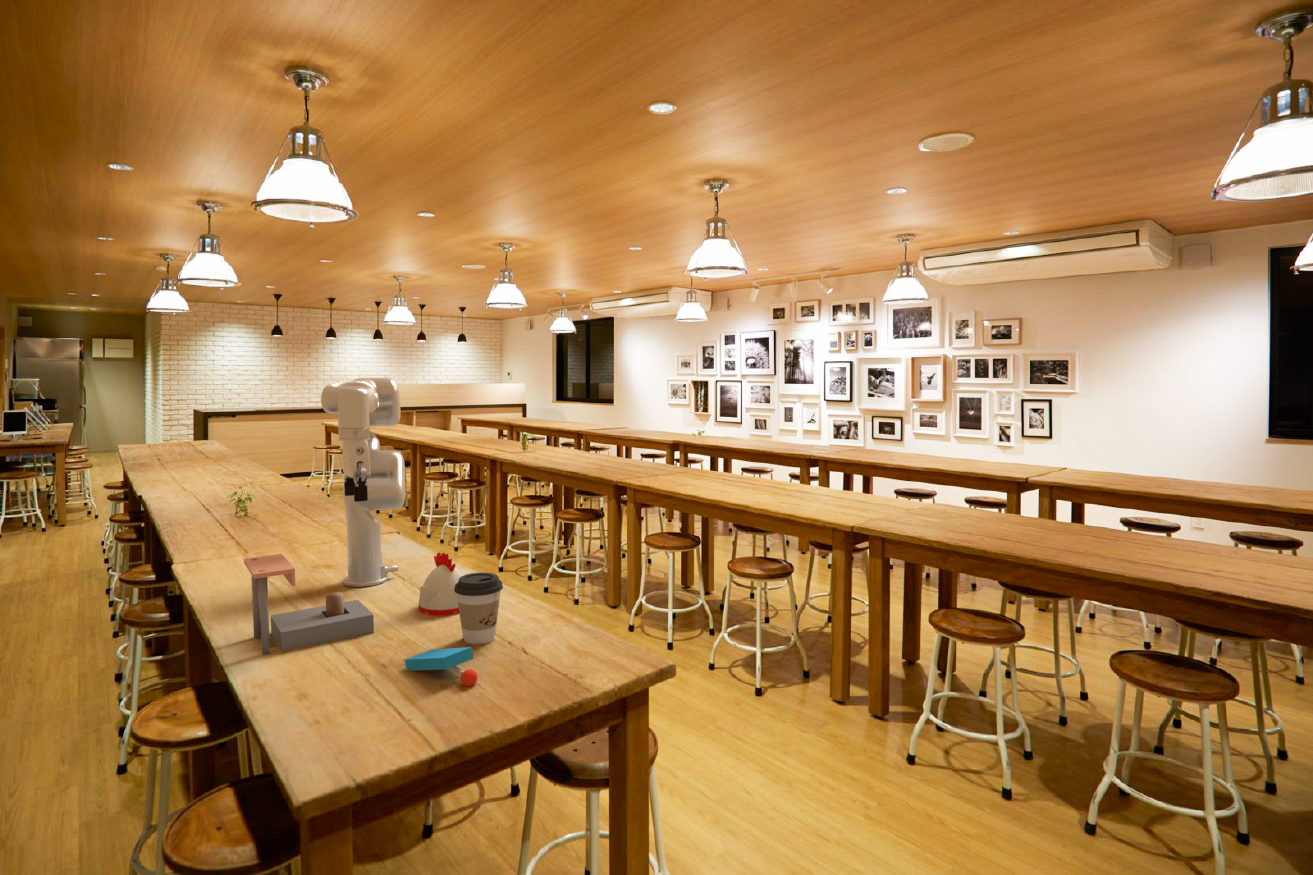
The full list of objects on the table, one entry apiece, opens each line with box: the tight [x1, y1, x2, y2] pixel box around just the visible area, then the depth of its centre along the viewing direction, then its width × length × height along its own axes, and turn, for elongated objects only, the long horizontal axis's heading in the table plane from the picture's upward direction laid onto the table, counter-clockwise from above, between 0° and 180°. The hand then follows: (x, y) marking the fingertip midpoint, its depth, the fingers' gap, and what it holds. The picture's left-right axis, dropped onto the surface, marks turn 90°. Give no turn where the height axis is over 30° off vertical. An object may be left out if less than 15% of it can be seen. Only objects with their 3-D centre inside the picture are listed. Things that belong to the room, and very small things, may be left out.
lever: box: [404, 646, 479, 687], centre depth 143 cm, size 7×7×18 cm
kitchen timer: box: [418, 551, 464, 617], centre depth 185 cm, size 14×14×15 cm
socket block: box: [270, 599, 375, 652], centre depth 166 cm, size 20×14×4 cm
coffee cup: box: [454, 571, 504, 646], centre depth 163 cm, size 11×11×15 cm
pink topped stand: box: [243, 553, 296, 656], centre depth 158 cm, size 8×16×19 cm, turn 38°
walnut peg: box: [324, 591, 345, 618], centre depth 167 cm, size 4×4×9 cm
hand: (356, 498), depth 181 cm, fingers open, 9 cm apart
